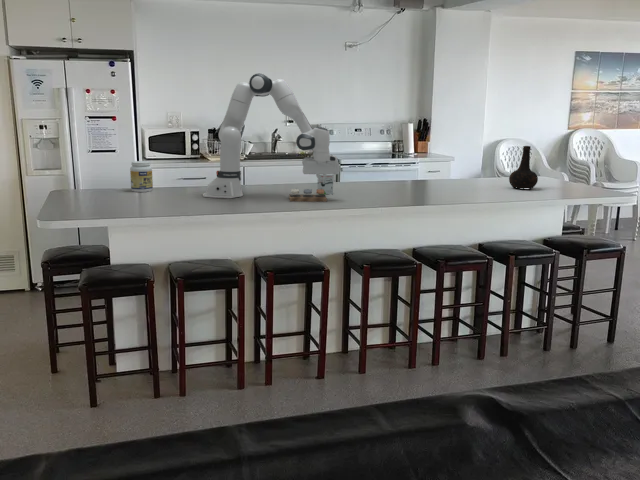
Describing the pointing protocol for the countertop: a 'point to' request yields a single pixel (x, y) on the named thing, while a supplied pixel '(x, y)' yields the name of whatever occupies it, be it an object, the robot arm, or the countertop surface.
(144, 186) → the supplement tub
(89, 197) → the countertop surface
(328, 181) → the ink box
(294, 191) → the cream button
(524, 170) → the glass bottle
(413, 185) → the countertop surface
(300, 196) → the button panel
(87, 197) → the countertop surface
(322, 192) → the terracotta button
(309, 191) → the slate button
